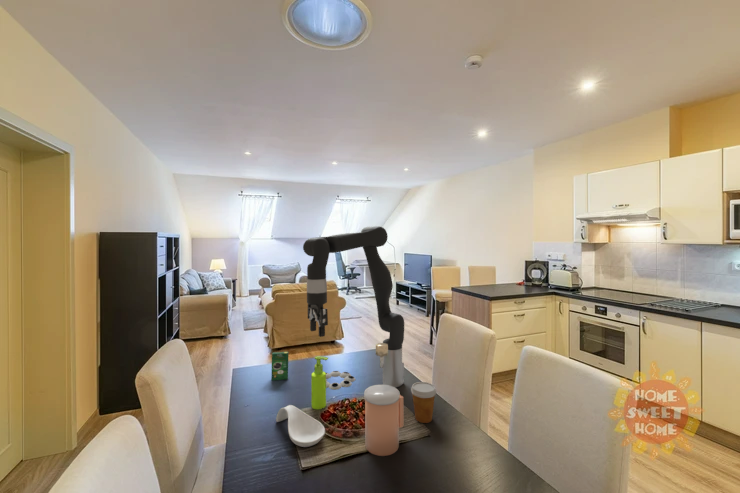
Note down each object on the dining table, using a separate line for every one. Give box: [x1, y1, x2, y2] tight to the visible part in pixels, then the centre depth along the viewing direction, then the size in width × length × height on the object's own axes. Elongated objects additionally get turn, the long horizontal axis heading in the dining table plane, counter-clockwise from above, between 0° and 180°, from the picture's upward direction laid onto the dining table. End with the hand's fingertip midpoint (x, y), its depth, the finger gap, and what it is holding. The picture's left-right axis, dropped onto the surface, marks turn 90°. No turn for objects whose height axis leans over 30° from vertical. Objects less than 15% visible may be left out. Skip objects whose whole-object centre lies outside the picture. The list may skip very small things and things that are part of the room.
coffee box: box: [271, 351, 289, 382], centre depth 153 cm, size 8×3×13 cm, turn 103°
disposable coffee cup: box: [410, 381, 437, 424], centre depth 118 cm, size 10×10×12 cm
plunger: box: [375, 342, 388, 369], centre depth 103 cm, size 4×4×7 cm
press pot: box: [363, 384, 405, 457], centre depth 103 cm, size 14×12×17 cm
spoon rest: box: [275, 404, 326, 448], centre depth 109 cm, size 24×12×7 cm, turn 45°
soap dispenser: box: [310, 355, 329, 410], centre depth 128 cm, size 6×7×20 cm
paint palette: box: [325, 370, 356, 390], centre depth 151 cm, size 20×20×2 cm
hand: (317, 333), depth 118 cm, fingers open, 8 cm apart
